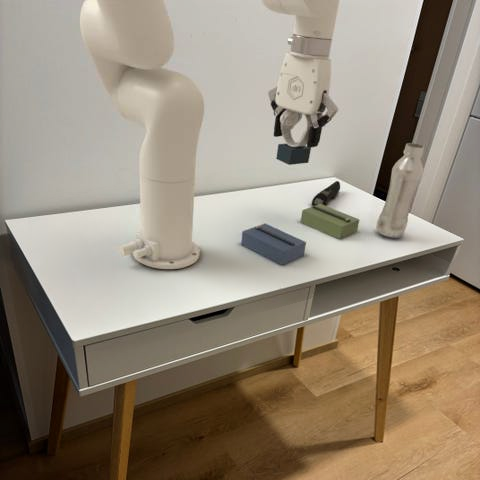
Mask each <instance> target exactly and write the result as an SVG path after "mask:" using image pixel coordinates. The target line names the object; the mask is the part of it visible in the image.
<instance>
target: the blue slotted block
mask: <svg viewBox="0 0 480 480" xmlns="http://www.w3.org/2000/svg"><path fill="white" fill-rule="evenodd" d="M240 244H241V246H243V247H245V248H247V249H249V250H251V251H253V252H255V253H257V254H259V255H261V256H263V257H265V258H267V259H268V260H271V261H272V262H275V263H277V264H279V265H280V266H284V265H286V264H288V263H290V262H293V261H295V260H297V259H299V258H301V257H304V256H305V251H306V247H307V242H306V241H305V240H302V239H300V238H298V237H296V236H293V235H292V234H289V233H287V232H285V231H283V230H281V229H280V228H279V229H278V228H276V227H274V226H271V224H269V223H268V224H267V223H262V224H258V225H255V226H254V227H251V228H248V229H245V230H243V231H242V232H241V241H240Z"/></svg>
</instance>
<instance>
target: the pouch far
mask: <svg viewBox="0 0 480 480" xmlns="http://www.w3.org/2000/svg"><path fill="white" fill-rule="evenodd" d="M360 220H361V219H360V218H357V217H355V216H352V215H350V214H348V213H344V212H342V211H339V210H337V209H334V208H332V207H329V206H327V205H326V206H325V205H322V204H318V205H315V206H312V205H311V206H310V207H307V208H304V209H302V210H301V216H300V223H302V224H303V225H306V226H308V227H309V228H313V229H315V230H317V231H319V232H322V233H324V234H327V235H329V236H331V237H334V238H336V239H338V240H341V239H343V238H346V237H349V236H350V235H353V234H355V233H357V231H358V228H359V225H360Z"/></svg>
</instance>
